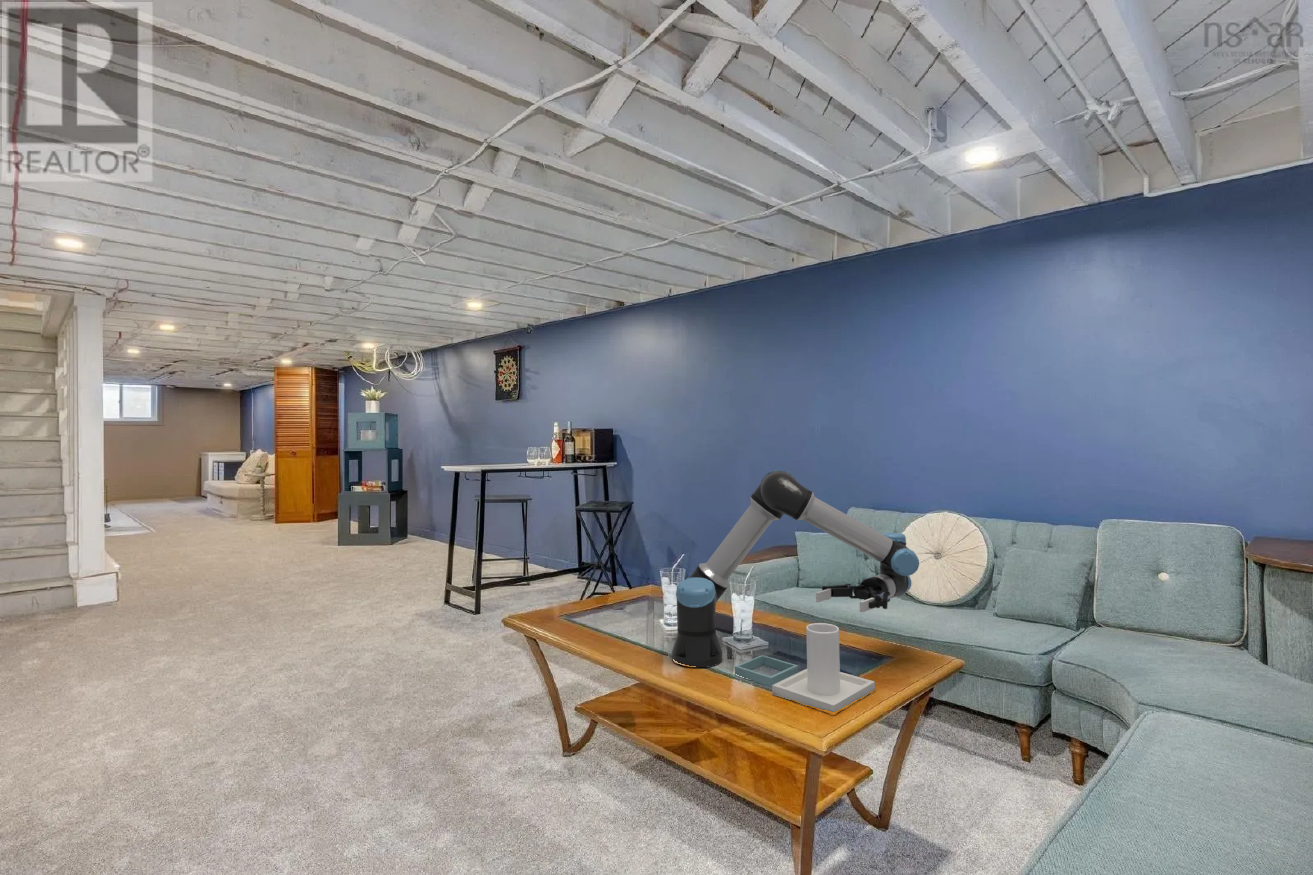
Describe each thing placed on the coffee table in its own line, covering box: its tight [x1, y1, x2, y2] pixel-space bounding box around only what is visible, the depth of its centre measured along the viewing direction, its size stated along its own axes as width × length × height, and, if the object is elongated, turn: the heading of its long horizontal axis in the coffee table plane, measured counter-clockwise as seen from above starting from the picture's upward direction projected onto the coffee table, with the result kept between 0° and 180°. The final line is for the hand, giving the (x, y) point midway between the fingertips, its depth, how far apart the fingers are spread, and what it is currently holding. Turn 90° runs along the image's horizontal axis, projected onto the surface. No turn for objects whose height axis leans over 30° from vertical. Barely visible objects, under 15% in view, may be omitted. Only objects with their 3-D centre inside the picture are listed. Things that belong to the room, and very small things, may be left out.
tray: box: [771, 668, 876, 712], centre depth 166 cm, size 20×18×2 cm
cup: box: [805, 622, 841, 695], centre depth 166 cm, size 8×8×16 cm
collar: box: [734, 654, 799, 688], centre depth 179 cm, size 13×13×2 cm
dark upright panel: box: [715, 612, 756, 635], centre depth 228 cm, size 13×2×21 cm
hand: (838, 602), depth 176 cm, fingers open, 13 cm apart
